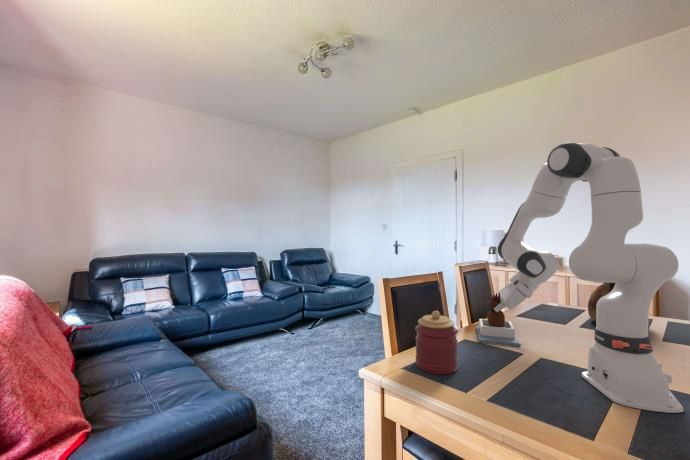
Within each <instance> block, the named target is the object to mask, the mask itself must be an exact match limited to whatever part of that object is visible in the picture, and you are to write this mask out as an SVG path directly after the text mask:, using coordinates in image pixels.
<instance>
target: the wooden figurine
mask: <svg viewBox="0 0 690 460" xmlns="http://www.w3.org/2000/svg"><path fill="white" fill-rule="evenodd" d="M498 292H499V291H498ZM498 292H495V294H494V295H493V296H492V297H491V301H490V302H489V309H490V310H488V312H487V318H486V319H488V323H489V326H491V327H504V324H505V321H506V317H505V314H504V312H503V311H502V310H503V309H501V310H500V311H498V312H496V311H495V310H494V307H495V306H497V305H499V304H500V303H501V302H500V292H499V294H498Z"/></svg>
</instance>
